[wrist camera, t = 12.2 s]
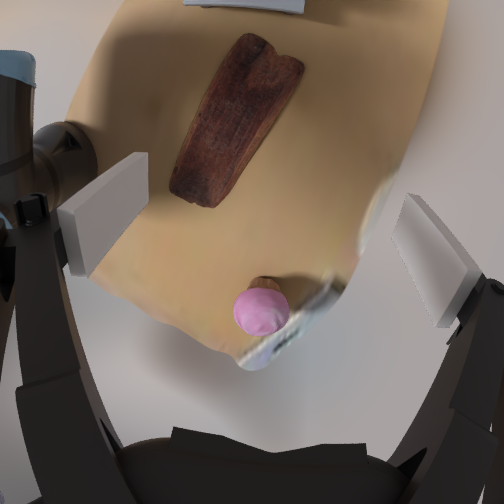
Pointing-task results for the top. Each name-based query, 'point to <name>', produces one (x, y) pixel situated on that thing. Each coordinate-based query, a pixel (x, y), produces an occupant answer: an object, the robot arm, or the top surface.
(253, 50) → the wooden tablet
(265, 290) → the cupcake
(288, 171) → the top surface
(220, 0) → the small grey table
